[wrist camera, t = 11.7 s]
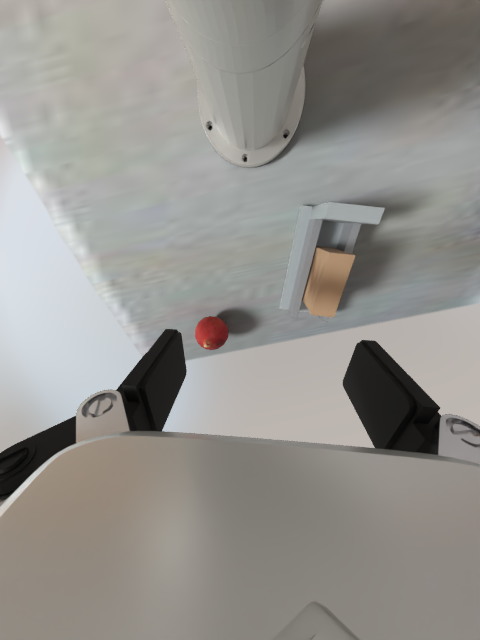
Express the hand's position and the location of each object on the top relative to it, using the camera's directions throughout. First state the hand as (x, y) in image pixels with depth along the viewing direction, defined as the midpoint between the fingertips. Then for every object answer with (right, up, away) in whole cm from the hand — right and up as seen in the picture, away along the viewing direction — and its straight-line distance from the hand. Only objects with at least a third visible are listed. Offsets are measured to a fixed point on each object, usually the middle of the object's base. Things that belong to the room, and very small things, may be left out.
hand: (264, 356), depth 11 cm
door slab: (+11, +10, +21) cm, 25 cm away
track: (+11, +11, +21) cm, 26 cm away
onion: (-6, +2, +28) cm, 28 cm away
